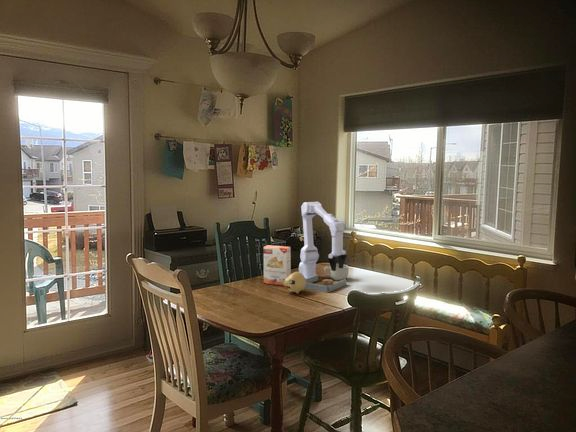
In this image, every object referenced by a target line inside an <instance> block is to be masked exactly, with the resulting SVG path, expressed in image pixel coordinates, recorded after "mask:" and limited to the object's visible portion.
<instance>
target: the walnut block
mask: <svg viewBox="0 0 576 432" xmlns="http://www.w3.org/2000/svg"><path fill="white" fill-rule="evenodd" d="M332 284H334V279H330V278H329V279H328V278H326V279H323V280H322V285H324V286H329V285H332Z"/></svg>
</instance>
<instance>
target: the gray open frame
mask: <svg viewBox="0 0 576 432" xmlns="http://www.w3.org/2000/svg"><path fill="white" fill-rule="evenodd" d="M318 276H319V275H318V274H316V275H315V276H312V277H309V278H305V279H306V284H305V289H307V290H310V291H311V290H312V291H317V292H322V293H323V292H324V293H331V292H333V291H335V290H338V289H339V288H340V289H341V288H342V287H345V286H347V278H346V279H344V280H338V281H337V282H333V284H332V285H329V286H324V285H323V284H318V283H314V282H318V281H319V277H318Z"/></svg>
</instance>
